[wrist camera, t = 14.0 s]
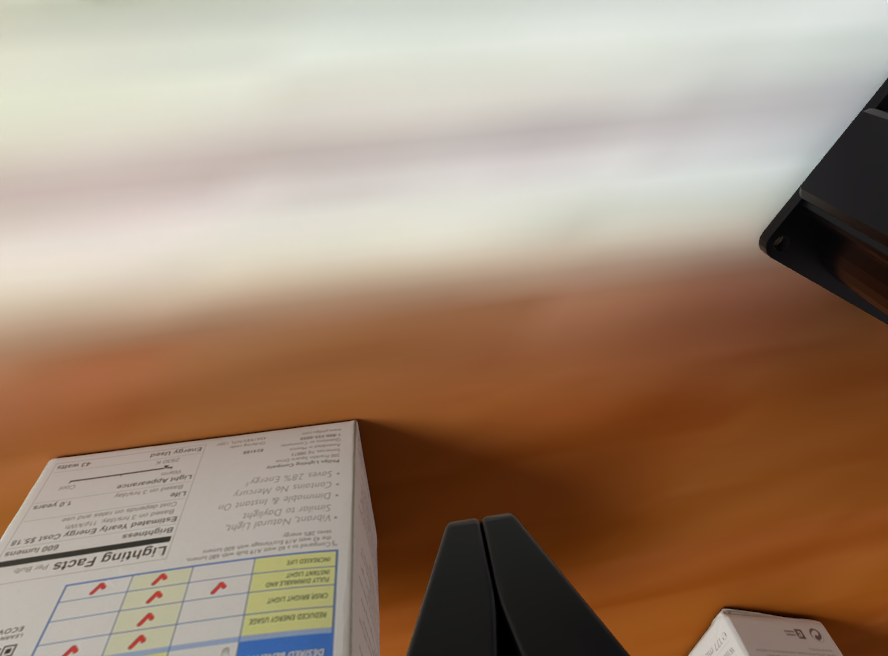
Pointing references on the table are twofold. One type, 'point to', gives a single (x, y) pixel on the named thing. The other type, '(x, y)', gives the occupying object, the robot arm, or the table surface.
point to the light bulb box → (197, 551)
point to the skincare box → (764, 636)
